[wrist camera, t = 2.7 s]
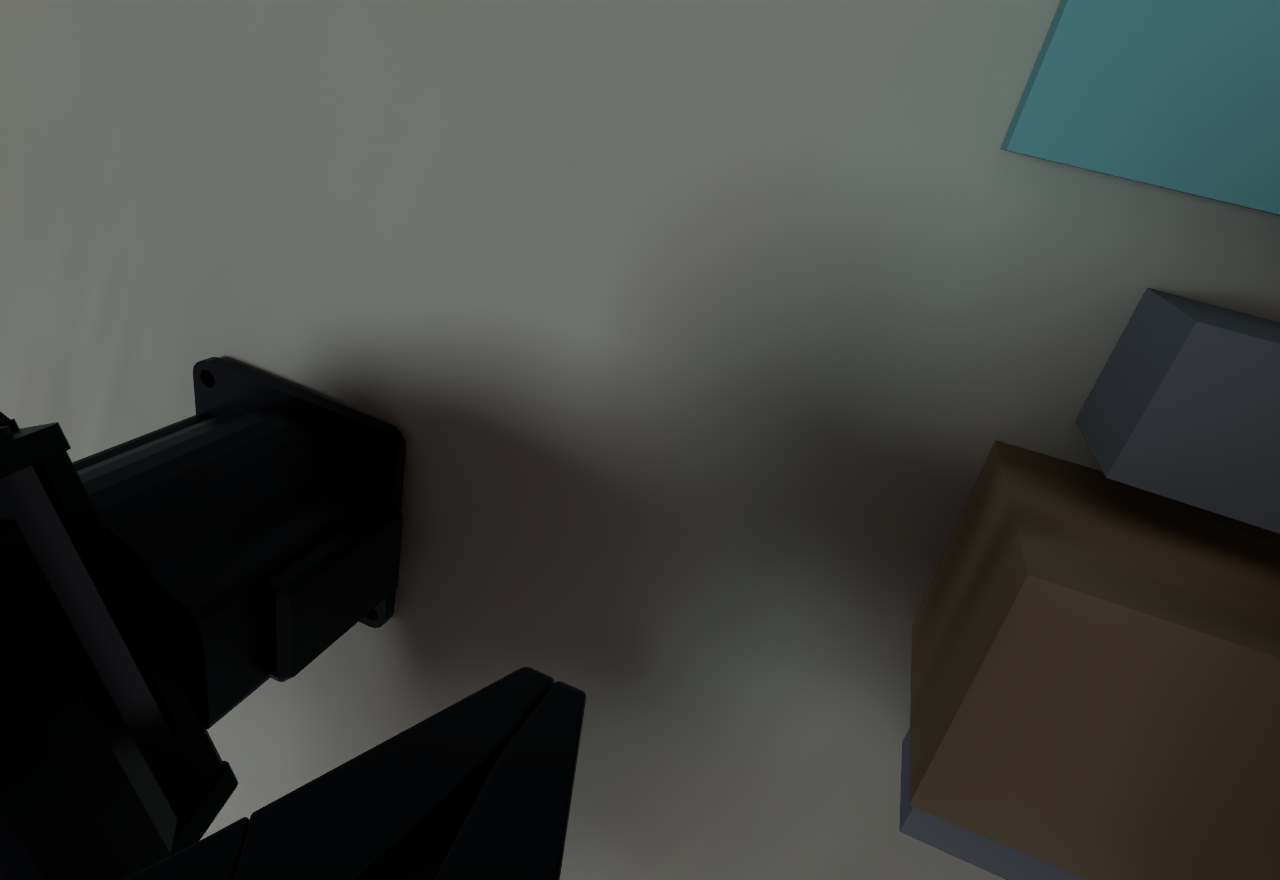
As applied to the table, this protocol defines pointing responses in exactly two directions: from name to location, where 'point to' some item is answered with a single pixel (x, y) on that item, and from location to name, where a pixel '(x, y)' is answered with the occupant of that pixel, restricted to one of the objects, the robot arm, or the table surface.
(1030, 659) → the walnut block
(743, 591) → the table surface
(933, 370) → the table surface
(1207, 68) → the pad
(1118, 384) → the grey blocks
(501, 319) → the table surface
